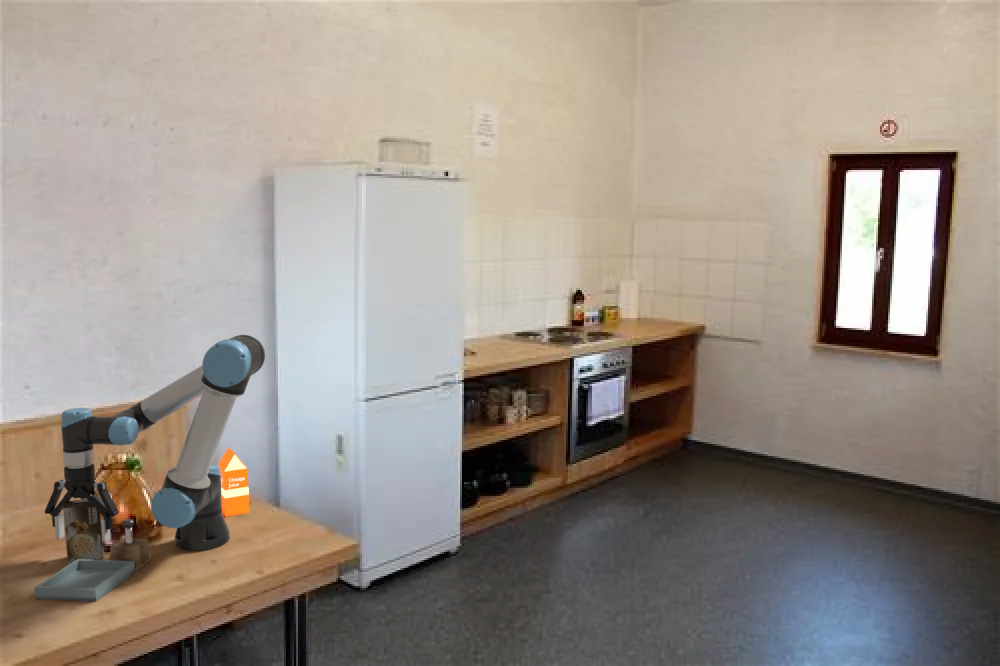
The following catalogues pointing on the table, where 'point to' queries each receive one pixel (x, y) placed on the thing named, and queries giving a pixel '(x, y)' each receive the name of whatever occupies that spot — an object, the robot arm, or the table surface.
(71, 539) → the coffee box
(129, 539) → the peg
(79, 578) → the tray
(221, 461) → the orange juice
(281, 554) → the table surface
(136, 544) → the walnut block
